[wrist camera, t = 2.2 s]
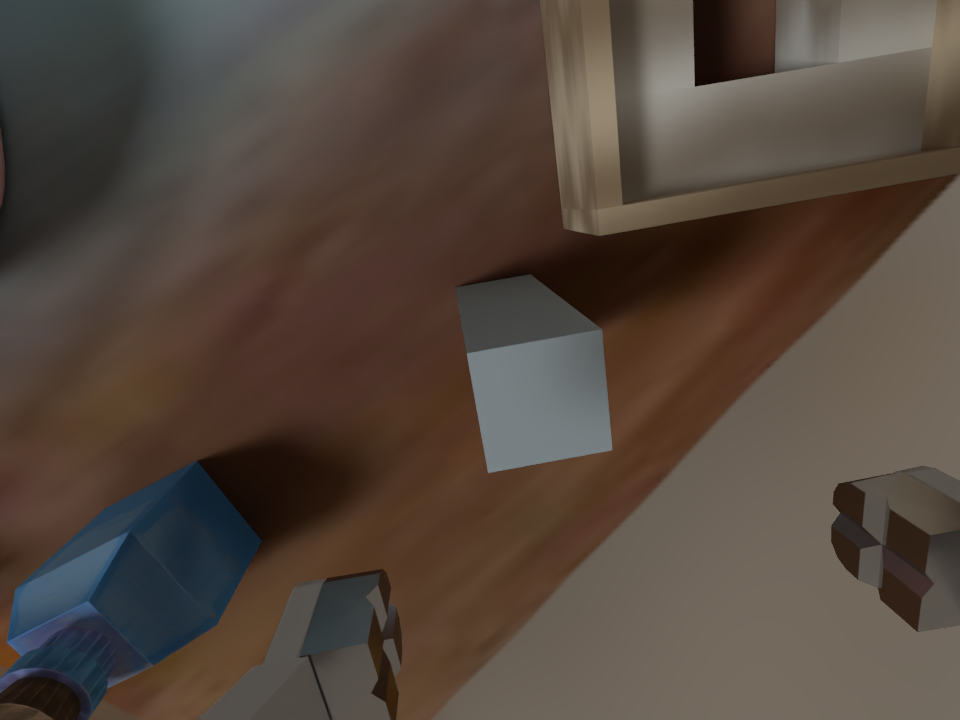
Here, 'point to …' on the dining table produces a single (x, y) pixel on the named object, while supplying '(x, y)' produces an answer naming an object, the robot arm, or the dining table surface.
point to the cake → (2, 170)
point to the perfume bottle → (124, 595)
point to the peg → (533, 373)
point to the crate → (746, 108)
